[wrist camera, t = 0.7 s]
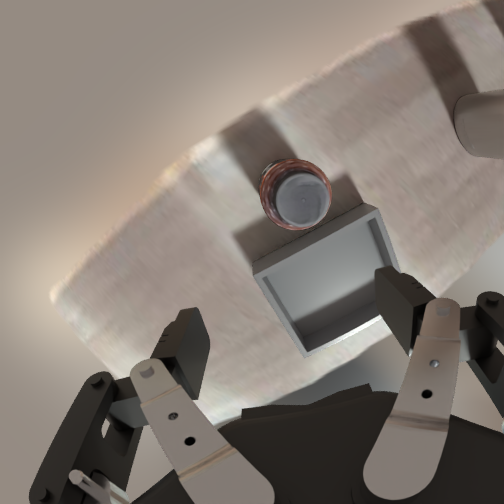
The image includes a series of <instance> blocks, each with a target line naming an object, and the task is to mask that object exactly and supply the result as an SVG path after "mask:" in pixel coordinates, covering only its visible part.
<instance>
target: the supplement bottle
mask: <svg viewBox="0 0 504 504" xmlns="http://www.w3.org/2000/svg"><path fill="white" fill-rule="evenodd" d="M259 195H260V199H261V203H262V206H263V209H264V211H265V213H266V214H267V215H268V217H269V218H270V219H271V220H272V221H273V222H274V223H276V224H277V225H279V226H281V227H283V228H286V229H290V230H303V229H307V228H310V227H312V226H314V225H316V224H317V223H318V222H320V221H321V220H322V219H323V218H324V216H325V215H326V214H327V212H328V210H329V207H330V204H331V199H332V191H331V186H330V183H329V180H328V178H327V177H326V175H325V174H324V172H323V171H322V170H321V169H320V168H318V167H317V166H316V165H314V164H312V163H311V162H308V161H305V160H299V159H282V160H277V161H275V162H273V163H271V164H270V165H268V166H267V167H266V168H265V170H264V171H263V172H262V174H261V176H260V180H259Z"/></svg>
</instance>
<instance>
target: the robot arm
mask: <svg viewBox="0 0 504 504" xmlns="http://www.w3.org/2000/svg"><path fill="white" fill-rule="evenodd" d="M454 123H455V128H456V132H457V135H458V137H459V139H460V142H461V143H462V145H463V147H464V148H465V149H466V150H467V151H468V152H469V153H470V154H471V155H474V156H477V157H486V158H494V159H502V160H504V89H501V90H494V91H488V92H481V93H476V94H470V95H465V96H462V97H461V98H460V99H459V100H458V101H457V103H456V106H455V109H454ZM374 277H375V300H376V306H377V310H378V312H379V314H380V315H381V317H382V318H383V319H384V321H385V322H386V324H387V325H388V327H389V328H390V330H391V331H392V333H393V334H394V335H395V337H396V339H397V340H398V341H399V343H400V345H401V346H402V347H403V349H404V350H405V352H406V354H407V355H408V357H410V356H411V359H410V362H409V365H408V368H407V371H406V374H405V377H404V380H403V383H402V386H401V388H400V391H399V393H394V392H387V391H374V392H372V389H371V387H370V385H369V383H368V384H365V385H361V386H358V387H354V388H350V389H347V390H343V391H339V392H337V393H335V394H332V395H330V396H328V397H325V398H323V399H321V400H319V401H317V402H314V403H312V404H309V405H268V406H261V407H253V408H245V409H242V416H241V418H240V419H237V420H234V421H232V422H230V423H228V424H226V425H224V426H222V427H221V428H219V429H218V430H216V428H215V427H214V426H213V425H212V424H211V423H210V421H209V420H208V419H207V418H206V417H205V415H204V414H203V413H202V412H201V411H200V409H199V408H198V407H197V406H196V404H195V403H194V402H193V401H192V400H198V397H199V393H200V389H201V384H202V380H203V376H204V371H205V367H206V363H207V359H208V355H209V350H210V339H209V335H208V333H207V330H206V327H205V325H204V322H203V319H202V317H201V314H200V311H199V309H198V308H197V307H194V308H188V309H182V310H180V312H179V314H178V316H177V318H176V320H175V321H173V322H171V323H170V324H169V325H168V326H167V327H166V328H165V329H164V331H163V333H162V335H161V336H162V337H160V339H159V343H157V345H156V347H155V349H154V351H153V353H152V355H151V357H150V359H146V360H143V361H141V362H139V363H138V364H136V365H135V366H134V367H133V368H132V370H131V372H130V377H126V378H122V379H118V380H114V378H113V377H112V375H111V374H110V373H109V372H105V371H103V372H98V373H96V374H94V375H92V376H90V377H89V378H88V379H87V380H86V382H85V383H84V385H83V386H82V388H81V390H80V392H79V393H78V395H77V397H76V399H75V400H74V402H73V404H72V406H71V408H70V409H69V411H68V413H67V415H66V417H65V419H64V420H63V422H62V424H61V426H60V428H59V430H58V432H57V434H56V436H55V438H54V440H53V441H52V443H51V446H50V447H49V450H48V452H47V454H46V456H45V458H44V460H43V462H42V464H41V466H40V468H39V471H38V473H37V475H36V477H35V479H34V482H33V484H32V486H31V489H30V492H29V501H30V504H129V498H128V496H127V494H126V493H125V491H126V487H127V484H128V480H129V476H130V472H131V468H132V465H133V461H134V457H135V454H136V450H137V447H138V443H139V440H140V436H141V433H142V430H143V426H145V425H150V427H151V429H152V431H153V432H154V434H155V436H156V438H157V440H158V442H159V444H160V445H161V447H162V449H163V451H164V453H165V454H166V456H167V458H168V459H169V461H170V463H171V464H172V466H173V467H174V469H173V470H172V471H171V472H169V473H168V474H167V475H166V476H165V477H163V478H162V479H161V480H160V481H159V482H157V483H156V484H155V485H154V486H152V487H151V488H150V489H149V490H147V491H146V492H145V493H144V494H142V495H141V496H140V497H138V498H137V499H136V500H134V501H133V502H132V503H130V504H504V355H503V354H502V353H501V352H500V350H499V349H498V348H497V347H496V344H497V341H498V340H499V341H500V342H501V343H502V345H503V346H504V296H503V295H501V294H499V293H497V292H491V291H488V292H484V293H481V294H480V295H479V296H478V297H477V301H476V306H471V307H463V308H460V306H459V304H458V303H457V302H456V301H454V300H452V299H448V298H436V297H435V296H434V295H433V294H432V293H431V292H430V291H428V290H427V289H426V288H425V287H423V285H422V284H421V283H420V282H419V283H418V281H417V280H416V279H415V278H414V277H413V276H411V275H408V274H405V273H399V272H398V271H397V270H396V269H395V268H394V267H393V266H391V265H389V266H385V267H382V268H378V269H375V272H374ZM463 361H466V362H467V363H468V364H469V366H470V368H471V369H472V371H473V372H474V373H475V375H476V376H477V378H478V379H479V381H480V382H481V384H482V385H483V387H484V388H485V390H486V392H487V393H488V394H489V396H490V398H491V399H492V401H493V403H494V404H495V406H496V408H497V409H498V411H499V413H500V414H501V416H502V418H503V420H502V432H503V433H501V432H498V431H495V430H492V429H489V428H487V427H484V426H481V425H478V424H475V423H472V422H470V421H467V420H464V419H462V418H459V417H457V416H454V415H451V414H450V413H451V408H452V403H453V398H454V393H455V387H456V380H457V373H458V365H459V362H463ZM105 418H106V419H107V420H108V421H109V423H110V425H109V428H108V430H107V433H106V435H105V438H103V436H102V432H101V429H102V425H103V423H104V421H105Z"/></svg>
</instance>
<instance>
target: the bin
mask: <svg viewBox="0 0 504 504" xmlns="http://www.w3.org/2000/svg"><path fill="white" fill-rule="evenodd" d="M389 265H391V266H393V267H394V268H395V269H396V270H397V271H398V272H399V273H401V271H400V268H399V265H398V262H397V258H396V255H395V252H394V250H393V247H392V244H391V241H390V238H389V235H388V233H387V230H386V227H385V225H384V222H383V219H382V217H381V214H380V212H379V209H378V208H376V207H374V206H372V205H369V204H367V203H362V204H360V205H359V206H357V207H355V208H353V209H351V210H349V211H348V212H346V213H344V214H342V215H340V216H338V217H337V218H335V219H333V220H331V221H329V222H327V223H325V224H324V225H322V226H320V227H318V228H316V229H314V230H313V231H311V232H309V233H307V234H305V235H303V236H301V237H300V238H298V239H296V240H294V241H292V242H290V243H288V244H287V245H285V246H283V247H281V248H279V249H277V250H275V251H273V252H272V253H270V254H268V255H266V256H264V257H262V258H260V259H258V260H257V261H255V262H253V277H254V279H255V280H256V282H257V284H258V285H259V287H260V289H261V290H262V292H263V293H264V295H265V297H266V298H267V300H268V301H269V303H270V305H271V306H272V308H273V309H274V311H275V313H276V314H277V316H278V317H279V319H280V321H281V322H282V324H283V325H284V327H285V329H286V330H287V332H288V333H289V335H290V337H291V338H292V340H293V341H294V343H295V345H296V346H297V348H298V349H299V351H300V352H301V354H302V356H303V357H304V358H306V357H309V356H311V355H313V354H315V353H317V352H319V351H321V350H323V349H325V348H328V347H330V346H332V345H334V344H336V343H338V342H340V341H341V340H343V339H345V338H347V337H349V336H351V335H353V334H355V333H357V332H359V331H360V330H362V329H364V328H366V327H368V326H370V325H371V324H373V323H375V322H377V321H378V320H380V319H382V317H381V315H380V314H379V312H378V310H377V306H376V300H375V277H374V272H375V269H378V268H382V267H385V266H389Z"/></svg>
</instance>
